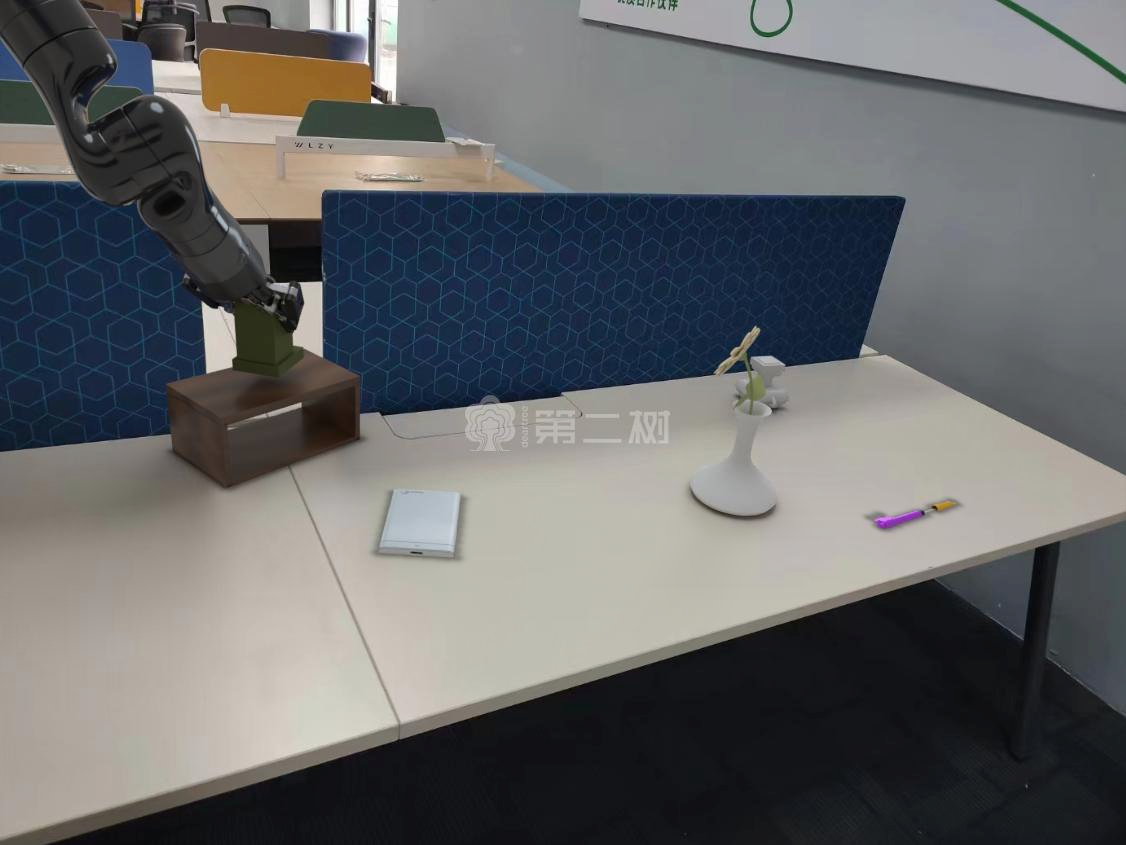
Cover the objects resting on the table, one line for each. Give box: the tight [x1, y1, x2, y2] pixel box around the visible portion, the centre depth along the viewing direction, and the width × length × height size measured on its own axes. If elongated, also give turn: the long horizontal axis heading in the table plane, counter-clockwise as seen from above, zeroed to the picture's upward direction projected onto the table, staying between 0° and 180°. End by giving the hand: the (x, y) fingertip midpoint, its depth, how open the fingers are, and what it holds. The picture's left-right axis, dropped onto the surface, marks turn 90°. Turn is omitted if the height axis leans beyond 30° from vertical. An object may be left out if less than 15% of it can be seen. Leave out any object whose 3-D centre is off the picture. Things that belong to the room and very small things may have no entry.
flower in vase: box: [689, 325, 777, 517], centre depth 106 cm, size 13×11×25 cm
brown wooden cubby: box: [165, 348, 361, 489], centre depth 109 cm, size 12×20×10 cm, turn 141°
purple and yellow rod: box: [873, 500, 957, 530], centre depth 114 cm, size 3×1×16 cm
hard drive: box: [378, 488, 462, 559], centre depth 98 cm, size 2×8×12 cm
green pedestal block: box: [231, 302, 305, 378], centre depth 104 cm, size 7×6×9 cm
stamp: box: [734, 355, 790, 409], centre depth 140 cm, size 9×7×8 cm
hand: (270, 322), depth 105 cm, fingers closed on green pedestal block, 5 cm apart
